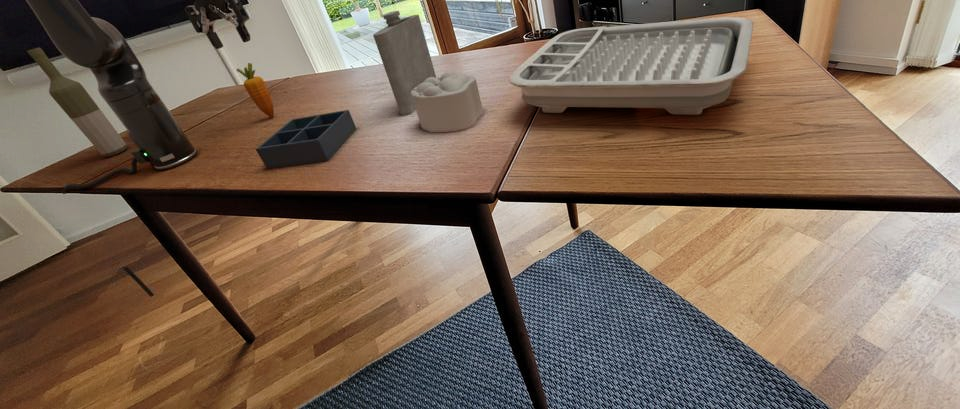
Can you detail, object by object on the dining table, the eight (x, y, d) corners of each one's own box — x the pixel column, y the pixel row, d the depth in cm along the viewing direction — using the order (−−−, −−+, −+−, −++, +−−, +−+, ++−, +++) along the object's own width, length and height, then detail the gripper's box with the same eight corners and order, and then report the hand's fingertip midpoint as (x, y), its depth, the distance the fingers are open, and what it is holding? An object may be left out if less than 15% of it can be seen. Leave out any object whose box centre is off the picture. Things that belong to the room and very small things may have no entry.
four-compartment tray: (266, 168, 84) (255, 149, 81) (301, 137, 95) (292, 119, 93) (328, 160, 80) (318, 139, 78) (356, 128, 92) (348, 109, 89)
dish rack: (736, 131, 57) (745, 75, 52) (505, 124, 76) (496, 82, 71) (749, 55, 77) (756, 10, 73) (564, 64, 96) (561, 29, 92)
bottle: (120, 147, 124) (40, 47, 107) (135, 146, 121) (56, 42, 105) (97, 159, 118) (9, 55, 102) (113, 158, 116) (26, 51, 99)
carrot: (259, 122, 113) (229, 69, 105) (269, 115, 117) (241, 63, 109) (275, 120, 112) (246, 65, 103) (284, 112, 116) (257, 59, 107)
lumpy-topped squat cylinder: (468, 130, 77) (457, 86, 72) (411, 133, 82) (397, 92, 78) (487, 107, 85) (478, 66, 80) (433, 111, 90) (421, 72, 85)
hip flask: (409, 114, 92) (377, 20, 81) (394, 115, 94) (362, 23, 83) (441, 87, 103) (417, 1, 92) (428, 88, 105) (403, 4, 94)
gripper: (229, -37, 95) (265, 35, 104) (182, -22, 99) (220, 46, 108) (207, -33, 90) (247, 43, 98) (158, -18, 93) (200, 54, 102)
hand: (233, 44), depth 103 cm, fingers open, 8 cm apart
